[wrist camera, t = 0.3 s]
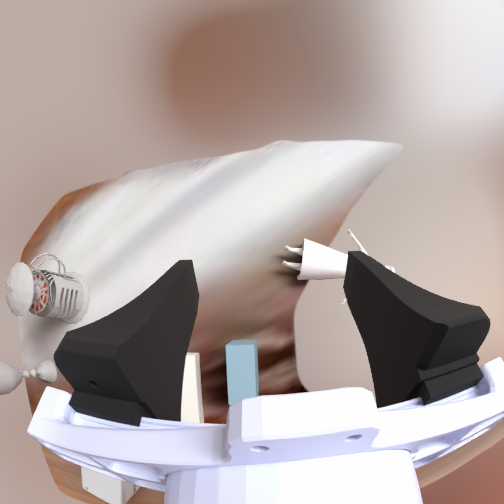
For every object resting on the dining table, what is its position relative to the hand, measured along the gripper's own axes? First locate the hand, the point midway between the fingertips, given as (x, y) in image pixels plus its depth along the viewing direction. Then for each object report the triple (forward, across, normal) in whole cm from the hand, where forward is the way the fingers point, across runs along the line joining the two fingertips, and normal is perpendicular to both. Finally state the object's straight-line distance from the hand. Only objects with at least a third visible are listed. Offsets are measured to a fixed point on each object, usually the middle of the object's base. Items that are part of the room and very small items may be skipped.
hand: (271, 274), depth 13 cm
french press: (+23, +35, +19) cm, 46 cm away
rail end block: (+15, +3, +26) cm, 30 cm away
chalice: (+12, +43, +31) cm, 54 cm away
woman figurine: (+24, -12, +16) cm, 31 cm away
